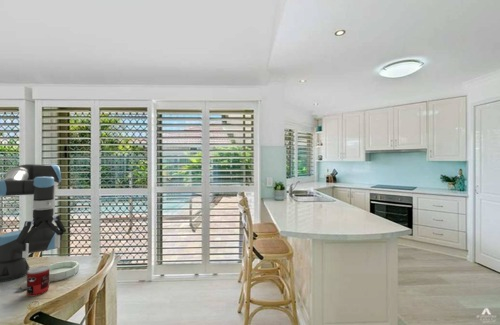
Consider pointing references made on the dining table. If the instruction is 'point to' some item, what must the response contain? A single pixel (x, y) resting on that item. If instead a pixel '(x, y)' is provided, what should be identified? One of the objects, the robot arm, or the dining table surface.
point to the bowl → (62, 270)
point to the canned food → (37, 280)
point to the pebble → (24, 285)
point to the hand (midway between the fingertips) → (42, 252)
